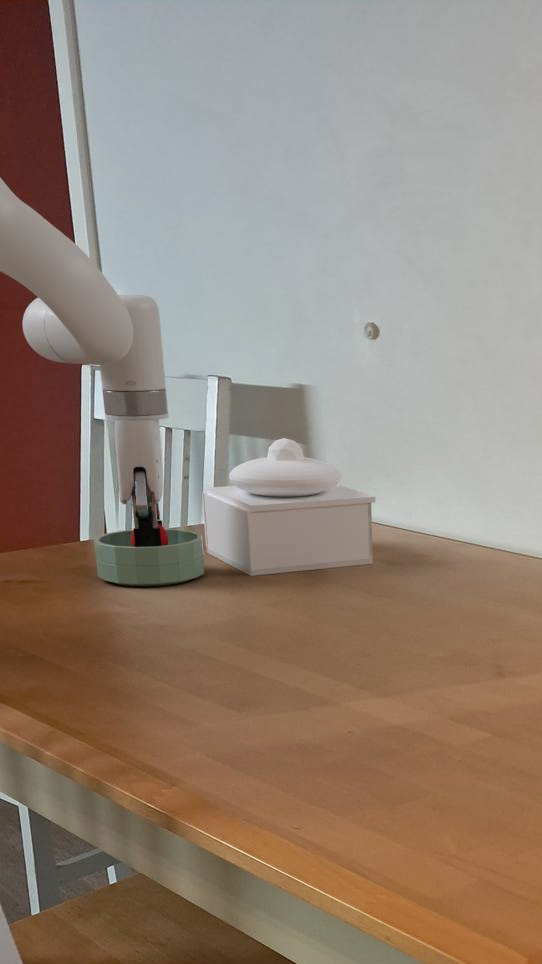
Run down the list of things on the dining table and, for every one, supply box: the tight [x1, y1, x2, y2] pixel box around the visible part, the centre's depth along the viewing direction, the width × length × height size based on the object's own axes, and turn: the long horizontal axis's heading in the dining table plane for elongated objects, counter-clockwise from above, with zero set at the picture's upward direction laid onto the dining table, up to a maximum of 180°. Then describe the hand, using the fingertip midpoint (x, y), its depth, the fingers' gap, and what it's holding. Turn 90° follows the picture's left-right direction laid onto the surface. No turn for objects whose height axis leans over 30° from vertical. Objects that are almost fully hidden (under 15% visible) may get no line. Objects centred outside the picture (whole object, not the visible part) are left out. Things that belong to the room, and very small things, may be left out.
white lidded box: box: [201, 437, 376, 577], centre depth 172 cm, size 18×18×16 cm
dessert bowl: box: [93, 528, 206, 587], centre depth 162 cm, size 13×13×5 cm
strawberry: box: [131, 519, 168, 547], centre depth 161 cm, size 5×5×5 cm
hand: (150, 554), depth 162 cm, fingers closed on strawberry, 4 cm apart
